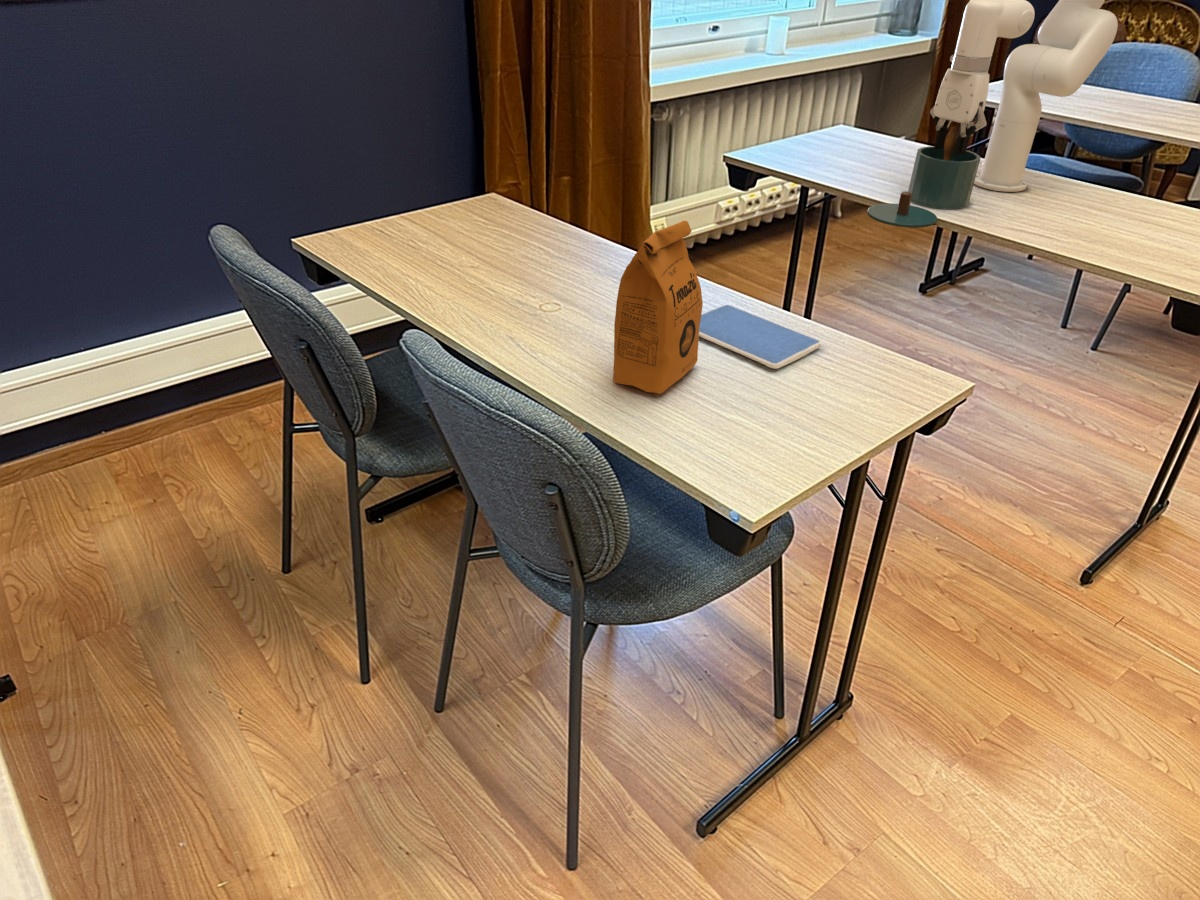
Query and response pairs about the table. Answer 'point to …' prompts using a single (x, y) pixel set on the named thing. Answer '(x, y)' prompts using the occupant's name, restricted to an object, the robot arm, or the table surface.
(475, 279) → the table surface
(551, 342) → the table surface
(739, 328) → the tablet
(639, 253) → the coffee package
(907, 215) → the tin lid
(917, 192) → the tin
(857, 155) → the table surface
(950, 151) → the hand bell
